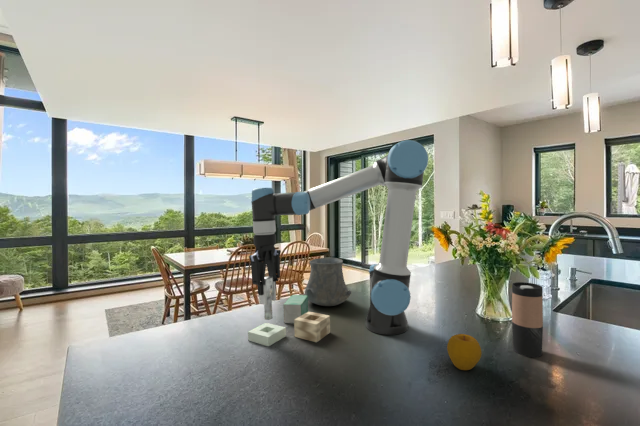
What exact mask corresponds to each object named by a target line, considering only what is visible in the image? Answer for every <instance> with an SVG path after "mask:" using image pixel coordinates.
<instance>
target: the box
mask: <svg viewBox="0 0 640 426" xmlns="http://www.w3.org/2000/svg"><path fill="white" fill-rule="evenodd" d="M282 307H283V323H284V324H294V319H296V318H298V317H300V316H302V315H303V314H305V313H307V312H309V301H308V296H307V295H303V294H292V295H290V297H289V298H287V300H286V301H285V302H284V303H283V306H282Z"/></svg>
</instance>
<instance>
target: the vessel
mask: <svg viewBox="0 0 640 426" xmlns="http://www.w3.org/2000/svg"><path fill="white" fill-rule="evenodd" d="M343 263H344V260H343V259H342V258H337V257H320V258H319V257H318V258H314V259H312V260H309V265H310V266H309V267H310V273H309V277H308V282H307V284H306V287H305V290H304V292H303V294H304V295H307V296H308V302H311V303H313V304H315V305H317V306H321V307H322V306H323V307H333V306H334V307H335V306H339V305H342V303H345V302H346V301H347V300H348V299H349V298H350V296H351V295H352V291H351V290H348V287H347V285H346V282H345V279H344V273H343Z"/></svg>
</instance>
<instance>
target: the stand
mask: <svg viewBox="0 0 640 426" xmlns="http://www.w3.org/2000/svg"><path fill="white" fill-rule="evenodd" d="M285 337H287V327H285V326H282V325H277V324H274V323H273V324H272V323H269V322H264V323H263V324H260V325H259V326H257V327H255V328H253V329H251V330H248V331H247V340H248V341H249V342H253V343H255V344H256V343H257V344H259V345H262V346H266V347H270V346H272V345H273V344H275V343H277V342H278V341H280V340H282V339H284V338H285Z"/></svg>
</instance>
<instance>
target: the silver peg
mask: <svg viewBox="0 0 640 426" xmlns="http://www.w3.org/2000/svg"><path fill="white" fill-rule="evenodd" d="M264 285H266V292H267V305H263V308H264V309H263V310H264V311H263V312H264V320H266V321H269V320H272V319H273V301H272V296H273V277H271V276H269V275H267V276H266V275H265V281H264Z"/></svg>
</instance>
